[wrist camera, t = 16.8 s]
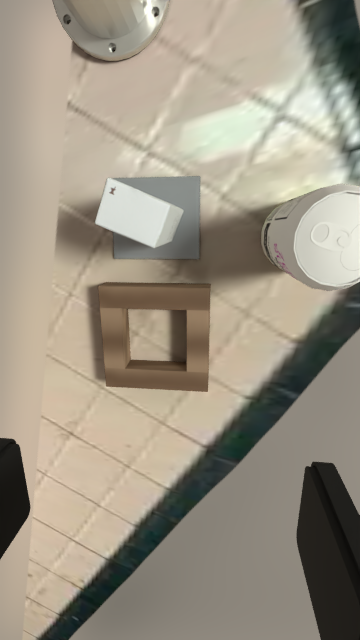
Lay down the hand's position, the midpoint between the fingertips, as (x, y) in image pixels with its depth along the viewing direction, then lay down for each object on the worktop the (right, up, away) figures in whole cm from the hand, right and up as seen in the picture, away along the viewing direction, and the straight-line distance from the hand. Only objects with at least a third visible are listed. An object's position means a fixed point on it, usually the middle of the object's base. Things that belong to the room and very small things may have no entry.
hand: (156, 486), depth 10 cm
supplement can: (+15, +16, +28) cm, 35 cm away
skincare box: (-2, +18, +29) cm, 34 cm away
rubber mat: (-2, +18, +29) cm, 34 cm away
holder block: (-2, +4, +33) cm, 33 cm away
